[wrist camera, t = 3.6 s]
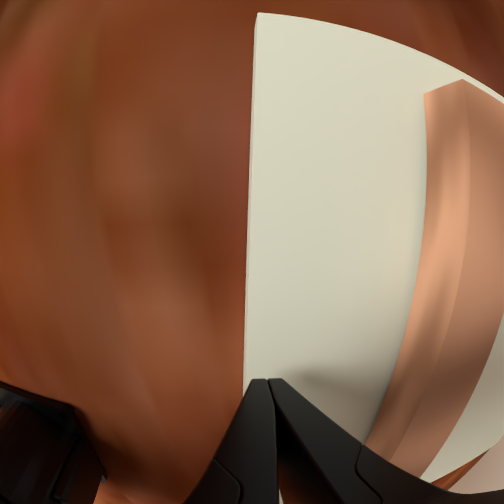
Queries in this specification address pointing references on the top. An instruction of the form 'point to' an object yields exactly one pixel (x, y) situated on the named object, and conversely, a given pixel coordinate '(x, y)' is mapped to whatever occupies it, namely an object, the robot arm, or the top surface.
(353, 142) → the base board
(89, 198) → the top surface
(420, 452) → the link
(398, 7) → the top surface
